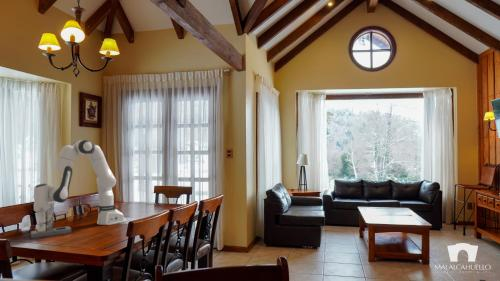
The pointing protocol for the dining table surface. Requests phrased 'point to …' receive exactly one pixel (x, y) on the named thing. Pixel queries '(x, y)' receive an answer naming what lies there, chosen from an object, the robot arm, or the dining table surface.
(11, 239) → the dining table surface
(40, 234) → the grey flat slab
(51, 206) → the stone block
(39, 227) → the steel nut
